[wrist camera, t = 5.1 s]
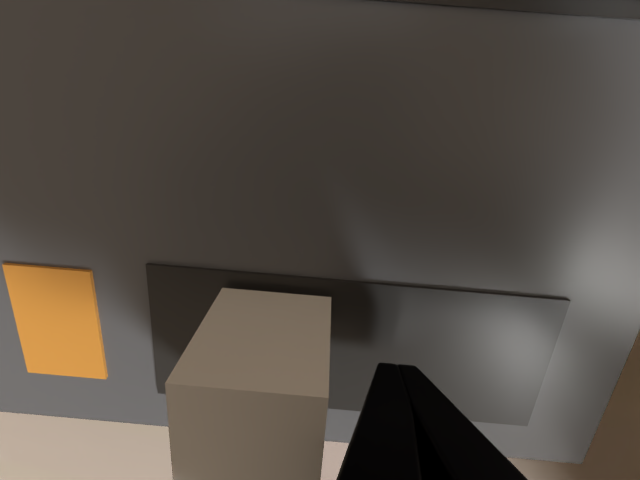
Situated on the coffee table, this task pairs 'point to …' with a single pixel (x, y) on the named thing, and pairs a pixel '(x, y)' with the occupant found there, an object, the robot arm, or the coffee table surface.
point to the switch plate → (325, 198)
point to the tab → (252, 389)
